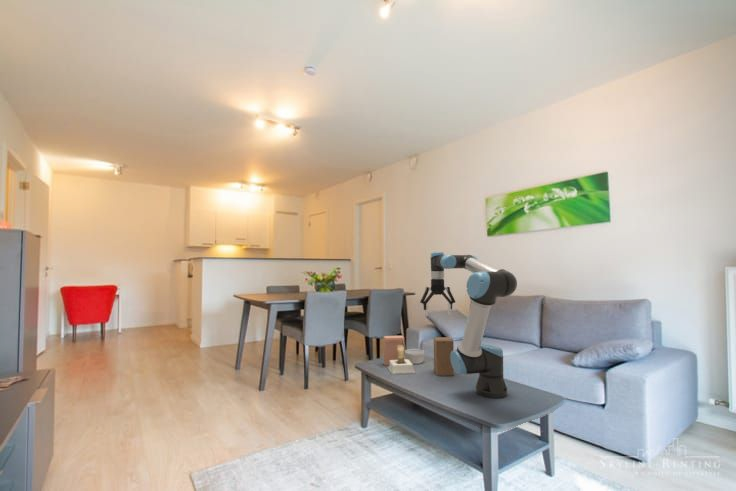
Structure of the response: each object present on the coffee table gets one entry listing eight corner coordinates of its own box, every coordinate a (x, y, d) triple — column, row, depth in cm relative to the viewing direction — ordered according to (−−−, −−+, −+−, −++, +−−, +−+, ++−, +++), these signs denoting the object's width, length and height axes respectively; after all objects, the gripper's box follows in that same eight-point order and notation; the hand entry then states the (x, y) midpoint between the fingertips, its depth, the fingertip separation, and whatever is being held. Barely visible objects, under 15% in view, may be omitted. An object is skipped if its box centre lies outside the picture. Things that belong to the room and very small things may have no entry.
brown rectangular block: (404, 366, 225) (404, 337, 226) (385, 367, 224) (385, 338, 225) (402, 363, 232) (401, 335, 233) (383, 364, 231) (383, 336, 232)
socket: (415, 373, 211) (415, 365, 211) (391, 374, 209) (391, 366, 209) (409, 366, 225) (409, 358, 225) (387, 367, 223) (387, 359, 223)
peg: (405, 369, 215) (404, 346, 216) (398, 370, 215) (398, 346, 215) (403, 367, 219) (403, 344, 220) (397, 368, 219) (396, 344, 219)
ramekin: (400, 360, 240) (400, 350, 240) (417, 358, 245) (417, 348, 245) (411, 365, 228) (411, 354, 228) (428, 363, 233) (428, 352, 233)
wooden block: (454, 375, 207) (453, 340, 208) (436, 375, 207) (436, 340, 208) (450, 370, 217) (450, 337, 218) (433, 370, 217) (433, 337, 218)
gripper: (455, 278, 213) (456, 314, 212) (414, 278, 210) (415, 315, 209) (460, 278, 206) (461, 315, 205) (418, 279, 203) (418, 316, 202)
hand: (438, 315), depth 207 cm, fingers open, 13 cm apart
